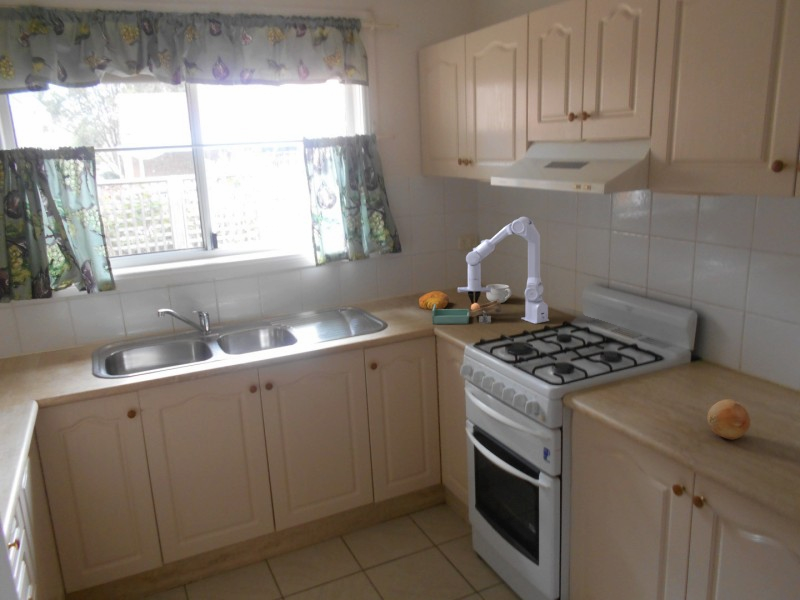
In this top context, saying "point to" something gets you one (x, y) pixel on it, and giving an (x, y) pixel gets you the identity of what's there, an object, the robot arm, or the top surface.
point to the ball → (475, 306)
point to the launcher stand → (484, 318)
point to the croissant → (434, 300)
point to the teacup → (498, 292)
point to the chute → (487, 308)
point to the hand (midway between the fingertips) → (474, 307)
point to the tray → (450, 316)
